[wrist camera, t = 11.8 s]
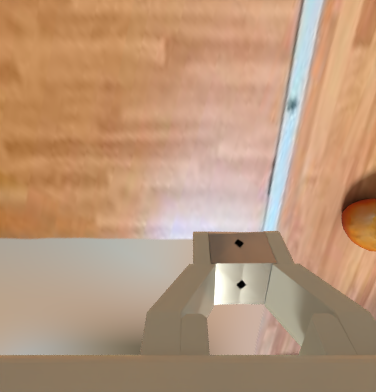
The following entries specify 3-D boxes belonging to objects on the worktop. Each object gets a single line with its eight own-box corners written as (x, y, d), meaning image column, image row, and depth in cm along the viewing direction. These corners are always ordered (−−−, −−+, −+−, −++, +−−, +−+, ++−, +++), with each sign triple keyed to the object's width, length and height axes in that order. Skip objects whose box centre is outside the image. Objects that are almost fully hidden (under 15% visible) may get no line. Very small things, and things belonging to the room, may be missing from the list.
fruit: (339, 249, 46) (362, 260, 38) (327, 204, 46) (347, 206, 38) (390, 238, 44) (424, 248, 36) (377, 192, 45) (408, 192, 37)
